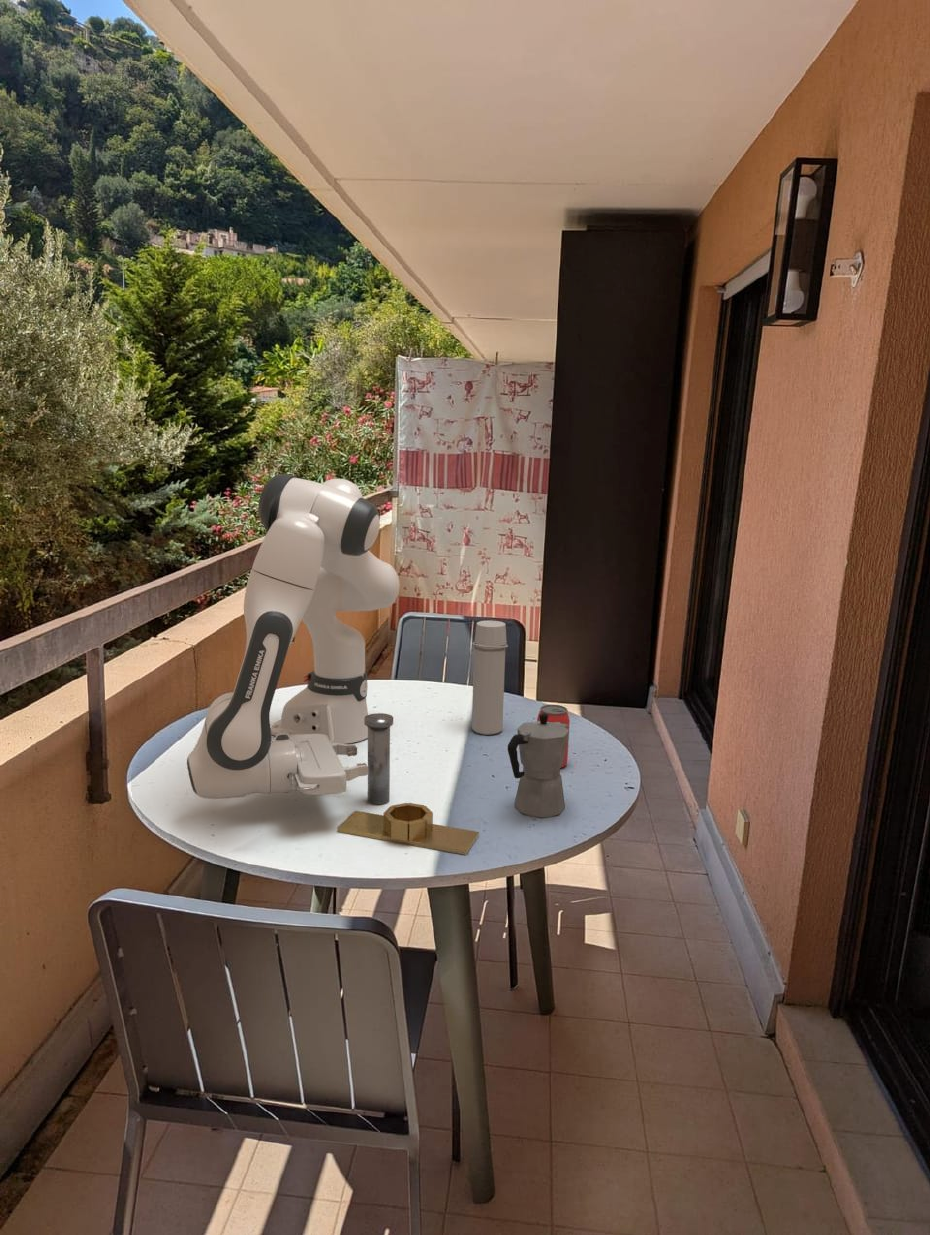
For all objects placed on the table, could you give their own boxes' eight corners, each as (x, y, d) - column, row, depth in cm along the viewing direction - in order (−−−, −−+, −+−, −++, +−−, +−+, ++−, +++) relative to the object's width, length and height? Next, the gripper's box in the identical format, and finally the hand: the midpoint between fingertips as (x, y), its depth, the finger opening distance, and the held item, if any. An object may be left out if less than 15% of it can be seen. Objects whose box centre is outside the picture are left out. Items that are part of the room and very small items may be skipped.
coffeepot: (544, 789, 166) (548, 700, 163) (582, 805, 160) (588, 712, 156) (487, 812, 156) (490, 717, 152) (525, 830, 149) (530, 731, 146)
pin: (359, 803, 158) (359, 720, 155) (371, 792, 163) (371, 711, 160) (386, 808, 157) (386, 724, 153) (397, 796, 161) (397, 715, 158)
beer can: (565, 771, 175) (568, 715, 173) (533, 768, 176) (535, 712, 174) (568, 759, 182) (571, 705, 179) (537, 756, 183) (539, 702, 180)
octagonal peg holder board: (336, 832, 147) (336, 811, 146) (355, 813, 154) (355, 793, 153) (465, 856, 140) (465, 834, 139) (479, 835, 147) (480, 814, 146)
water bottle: (498, 738, 193) (502, 629, 187) (465, 733, 195) (468, 625, 190) (510, 725, 201) (514, 620, 196) (478, 720, 204) (481, 617, 198)
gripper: (292, 772, 142) (374, 764, 147) (277, 730, 161) (350, 723, 166) (293, 808, 144) (374, 798, 148) (278, 762, 163) (350, 754, 167)
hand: (361, 759), depth 157 cm, fingers open, 8 cm apart
